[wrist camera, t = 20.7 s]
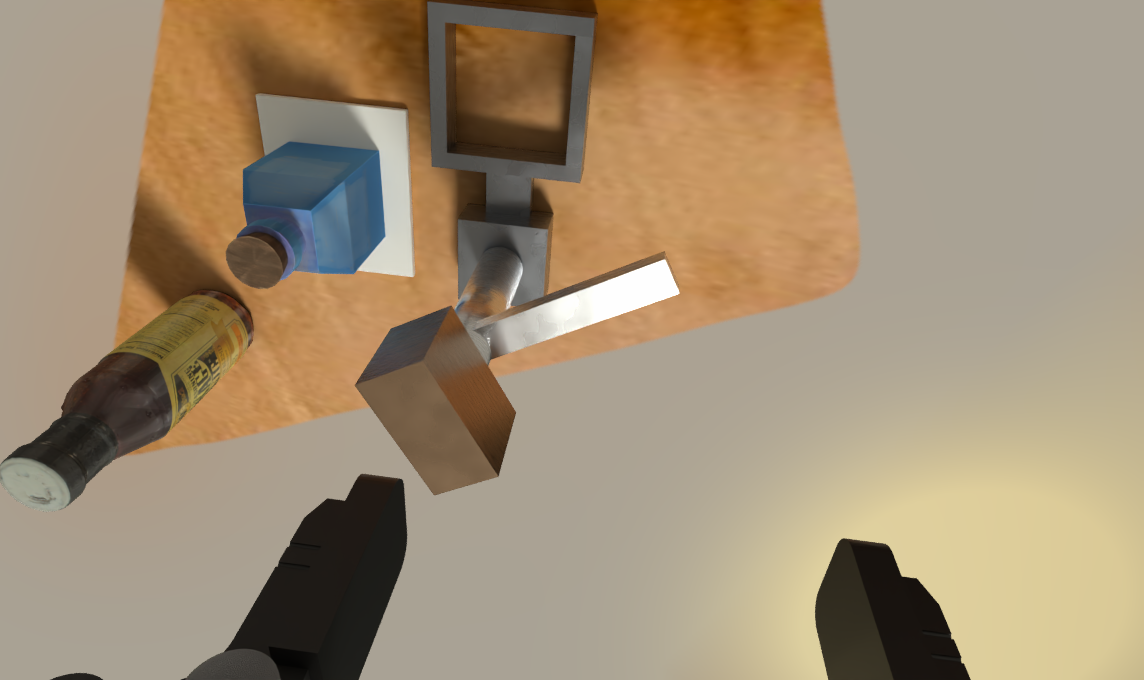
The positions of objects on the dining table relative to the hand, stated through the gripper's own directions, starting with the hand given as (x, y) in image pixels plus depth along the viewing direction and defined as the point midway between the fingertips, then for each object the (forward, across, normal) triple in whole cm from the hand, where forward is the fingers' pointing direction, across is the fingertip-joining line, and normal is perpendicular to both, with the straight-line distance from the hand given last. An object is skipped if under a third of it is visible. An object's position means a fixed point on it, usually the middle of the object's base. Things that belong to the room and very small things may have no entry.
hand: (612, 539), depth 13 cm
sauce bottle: (+36, +31, +20) cm, 52 cm away
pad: (+36, +20, +8) cm, 42 cm away
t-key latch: (+33, +4, +8) cm, 34 cm away
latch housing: (+36, +8, +5) cm, 37 cm away
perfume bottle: (+36, +20, +8) cm, 42 cm away
